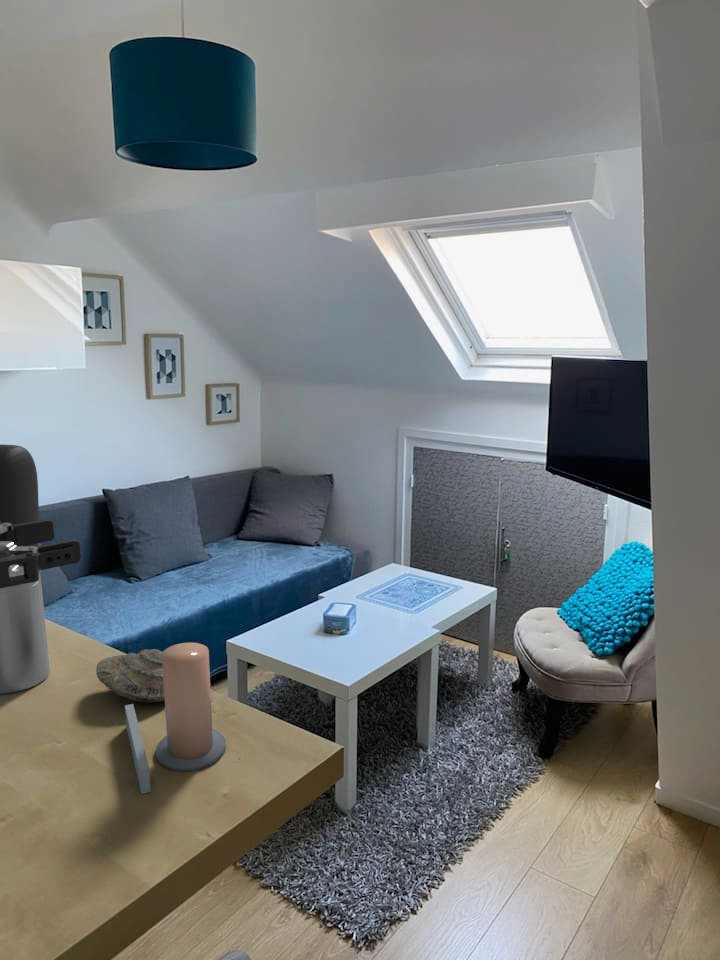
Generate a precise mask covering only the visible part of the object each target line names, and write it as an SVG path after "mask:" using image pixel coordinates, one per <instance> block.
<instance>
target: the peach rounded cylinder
mask: <svg viewBox="0 0 720 960" xmlns="http://www.w3.org/2000/svg"><path fill="white" fill-rule="evenodd" d="M162 652H163V653H162V666H163V682H164V698H165V701H164V712H165V725H166V726H165V727H166V729H165V730H166V736H167V746H168V753H169V754H170V755H171V756H172V757H174V758H177V759H183V760H189V759H195V758H199V757H201V756H203V755H205V754H207V753H208V752H209V751H210V750H211V749H212V747H213V733H212V729H213V719H212V717H213V716H212V715H213V714H212V697H211V696H212V695H211V694H212V693H211V692H212V691H211V673H210V650H209V647H208V646H206V644H205V645H204V644H202V643H199V642H182V643H176V644H174V645H171V646H168V647H167V648H165V649H164V650H163V651H162Z"/></svg>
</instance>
